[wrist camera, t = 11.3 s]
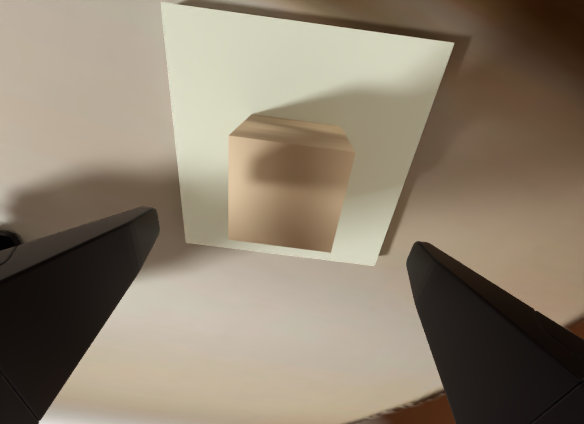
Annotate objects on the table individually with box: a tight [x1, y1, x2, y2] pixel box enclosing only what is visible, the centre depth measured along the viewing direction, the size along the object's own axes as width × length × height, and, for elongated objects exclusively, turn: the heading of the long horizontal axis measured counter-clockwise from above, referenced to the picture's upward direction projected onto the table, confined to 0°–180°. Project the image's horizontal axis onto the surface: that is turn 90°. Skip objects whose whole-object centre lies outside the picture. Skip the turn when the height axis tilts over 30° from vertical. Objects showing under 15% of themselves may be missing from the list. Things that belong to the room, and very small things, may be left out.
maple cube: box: [228, 114, 356, 253], centre depth 14 cm, size 5×5×5 cm
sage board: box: [161, 2, 454, 266], centre depth 16 cm, size 14×14×1 cm
